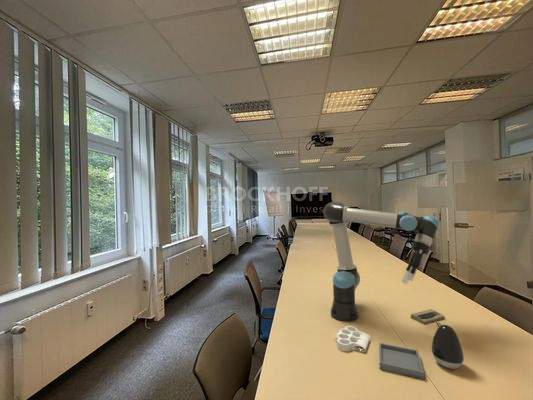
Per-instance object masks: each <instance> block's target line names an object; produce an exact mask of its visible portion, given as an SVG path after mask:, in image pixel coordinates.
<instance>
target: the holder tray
mask: <svg viewBox="0 0 533 400" xmlns="http://www.w3.org/2000/svg"><path fill="white" fill-rule="evenodd" d="M419 352H420V351H419V350H418V349H414V348H408V347H403V346H398V345H393V344H387V343H382V342H379V343H378V355H379V357H378V358H379V363H378V365H379V366H378V367H379V370H381V371H385V372H389V373H394V374H398V375H403V376H407V377H410V378H414V379H420V380H425V370H424V367H423V364H422V360H421V357H420V353H419Z"/></svg>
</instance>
